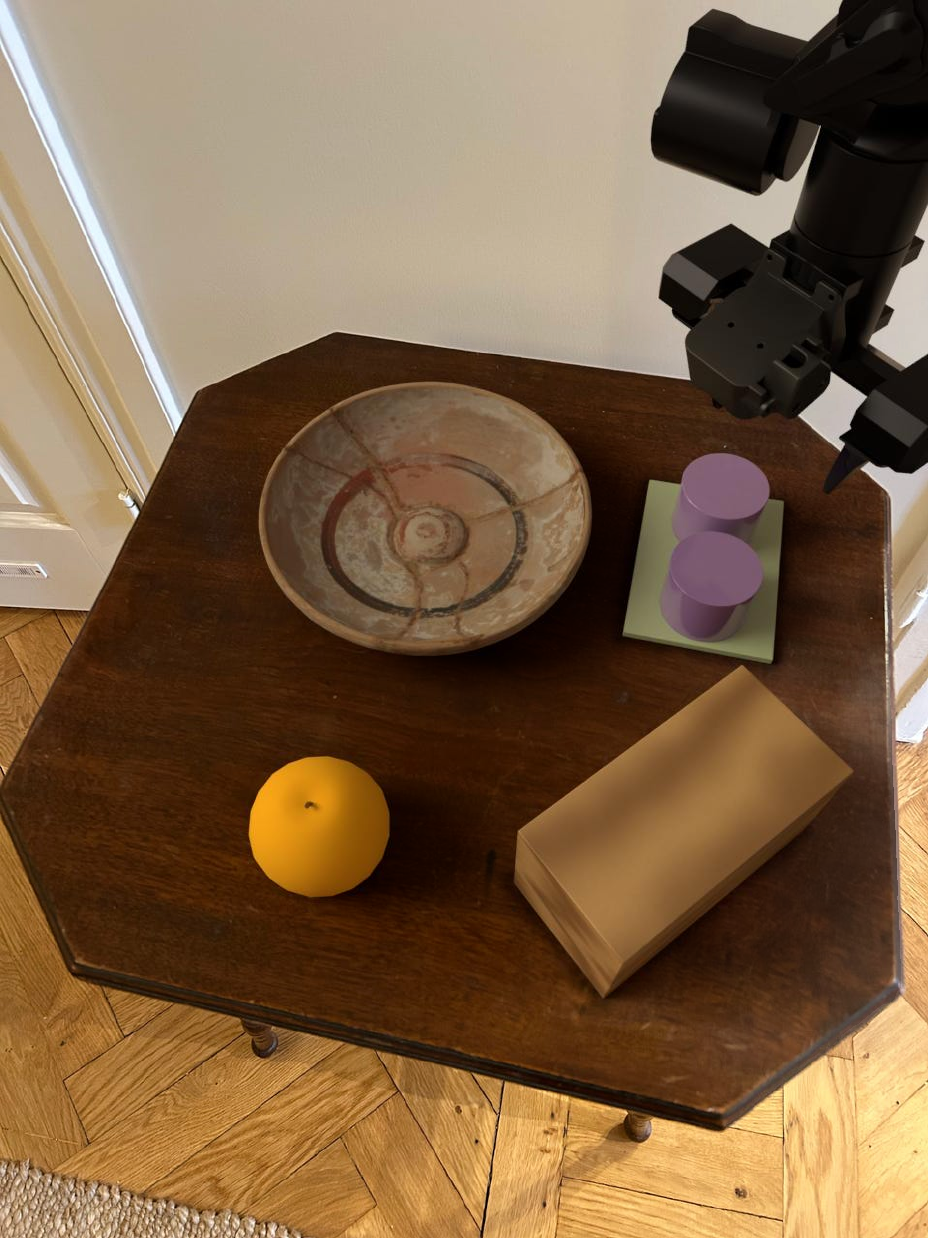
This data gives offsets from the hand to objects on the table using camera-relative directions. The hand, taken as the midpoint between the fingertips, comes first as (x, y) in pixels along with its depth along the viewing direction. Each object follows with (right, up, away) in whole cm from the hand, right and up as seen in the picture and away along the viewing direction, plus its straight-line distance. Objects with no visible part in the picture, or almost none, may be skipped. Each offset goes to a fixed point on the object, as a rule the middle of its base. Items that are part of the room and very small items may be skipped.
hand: (773, 446), depth 57 cm
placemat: (-2, -7, +8) cm, 11 cm away
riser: (-8, -25, -3) cm, 26 cm away
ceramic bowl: (-22, -5, +10) cm, 25 cm away
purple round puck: (-3, -10, +6) cm, 12 cm away
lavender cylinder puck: (-1, -4, +9) cm, 10 cm away
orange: (-28, -25, -2) cm, 37 cm away
